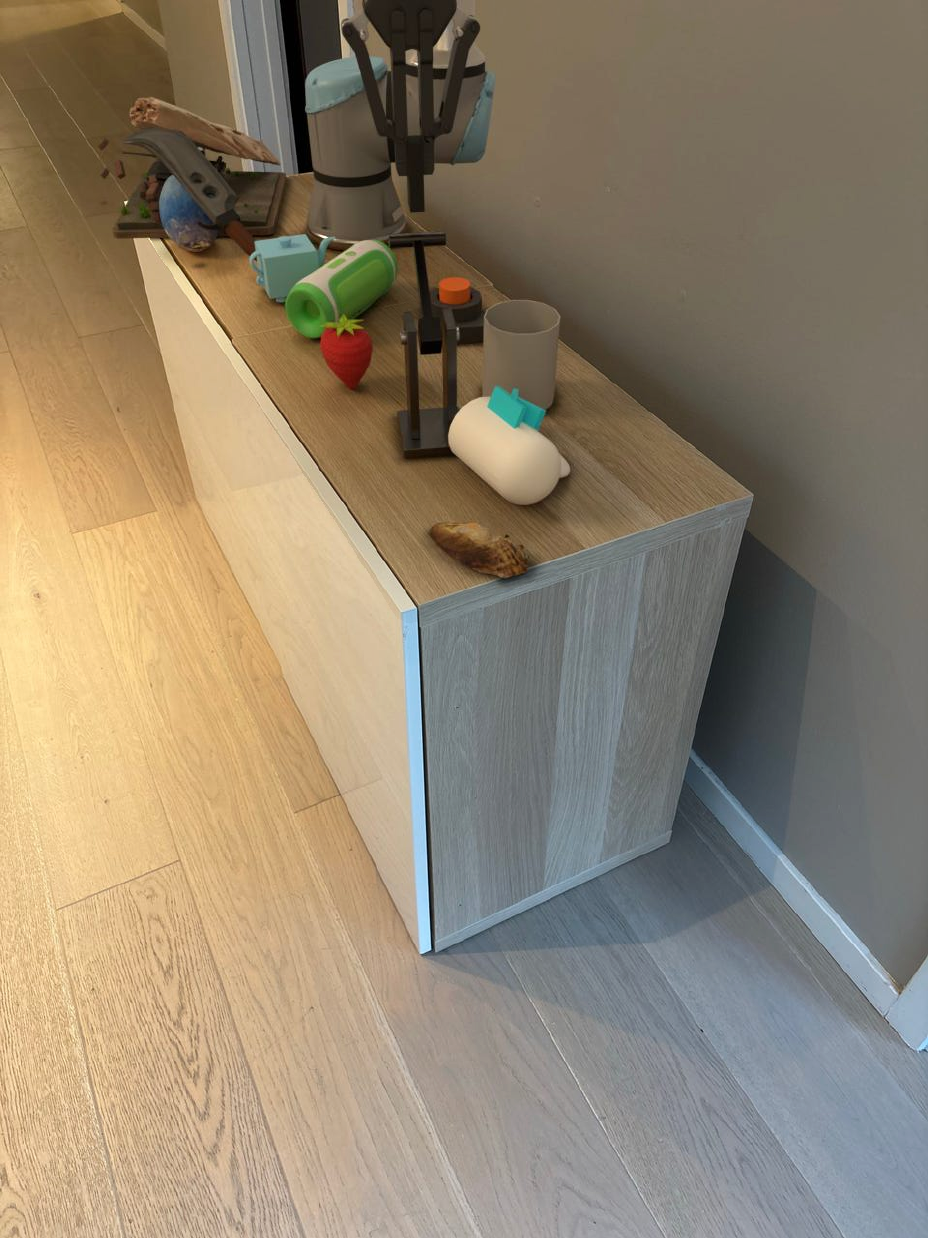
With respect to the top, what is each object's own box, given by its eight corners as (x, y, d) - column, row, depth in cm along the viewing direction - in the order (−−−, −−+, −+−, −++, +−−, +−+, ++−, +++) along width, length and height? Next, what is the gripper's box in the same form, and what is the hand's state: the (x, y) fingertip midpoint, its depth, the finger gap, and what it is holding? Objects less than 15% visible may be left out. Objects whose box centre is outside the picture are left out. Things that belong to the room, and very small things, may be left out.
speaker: (358, 284, 131) (354, 230, 126) (402, 294, 129) (400, 240, 124) (285, 336, 120) (277, 279, 115) (332, 348, 118) (327, 291, 113)
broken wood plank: (265, 172, 164) (271, 142, 163) (307, 184, 157) (314, 152, 155) (114, 123, 143) (119, 87, 142) (154, 134, 136) (160, 97, 135)
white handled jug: (539, 430, 85) (468, 375, 93) (504, 516, 90) (439, 456, 97) (624, 439, 93) (552, 387, 100) (587, 518, 97) (521, 462, 105)
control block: (424, 309, 126) (423, 281, 123) (475, 306, 126) (475, 278, 124) (432, 345, 119) (432, 315, 116) (487, 341, 119) (487, 311, 117)
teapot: (333, 275, 133) (328, 222, 128) (345, 293, 129) (340, 238, 124) (250, 288, 130) (241, 234, 125) (260, 307, 126) (251, 251, 120)
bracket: (397, 419, 106) (391, 303, 96) (458, 415, 107) (458, 299, 97) (404, 459, 100) (398, 340, 91) (468, 454, 101) (469, 335, 91)
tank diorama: (287, 178, 161) (278, 110, 154) (273, 234, 143) (262, 161, 136) (124, 182, 160) (107, 114, 153) (90, 240, 143) (69, 165, 135)
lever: (388, 243, 100) (388, 227, 97) (444, 240, 100) (445, 224, 98) (401, 356, 95) (401, 342, 93) (459, 352, 96) (461, 338, 94)
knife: (250, 291, 128) (118, 132, 130) (250, 301, 130) (119, 144, 132) (301, 264, 132) (171, 109, 134) (299, 274, 134) (171, 121, 136)
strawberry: (333, 408, 108) (324, 327, 101) (319, 377, 113) (309, 297, 106) (382, 399, 109) (377, 318, 102) (366, 369, 114) (360, 290, 107)
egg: (243, 264, 138) (224, 177, 141) (202, 238, 130) (183, 147, 133) (199, 290, 141) (181, 204, 144) (156, 266, 134) (139, 177, 137)
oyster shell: (476, 492, 91) (541, 547, 86) (469, 523, 93) (533, 579, 88) (427, 504, 88) (492, 562, 82) (421, 537, 90) (484, 595, 85)
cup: (548, 419, 106) (554, 338, 99) (477, 411, 107) (478, 330, 100) (557, 382, 112) (564, 303, 105) (490, 375, 113) (492, 296, 106)
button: (437, 293, 121) (437, 277, 120) (467, 291, 122) (468, 276, 120) (441, 306, 118) (441, 291, 117) (472, 304, 119) (472, 289, 117)
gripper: (332, -67, 77) (355, 224, 93) (488, -70, 78) (483, 217, 94) (329, -81, 82) (351, 197, 98) (475, -83, 83) (473, 191, 100)
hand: (416, 207), depth 96 cm, fingers closed
